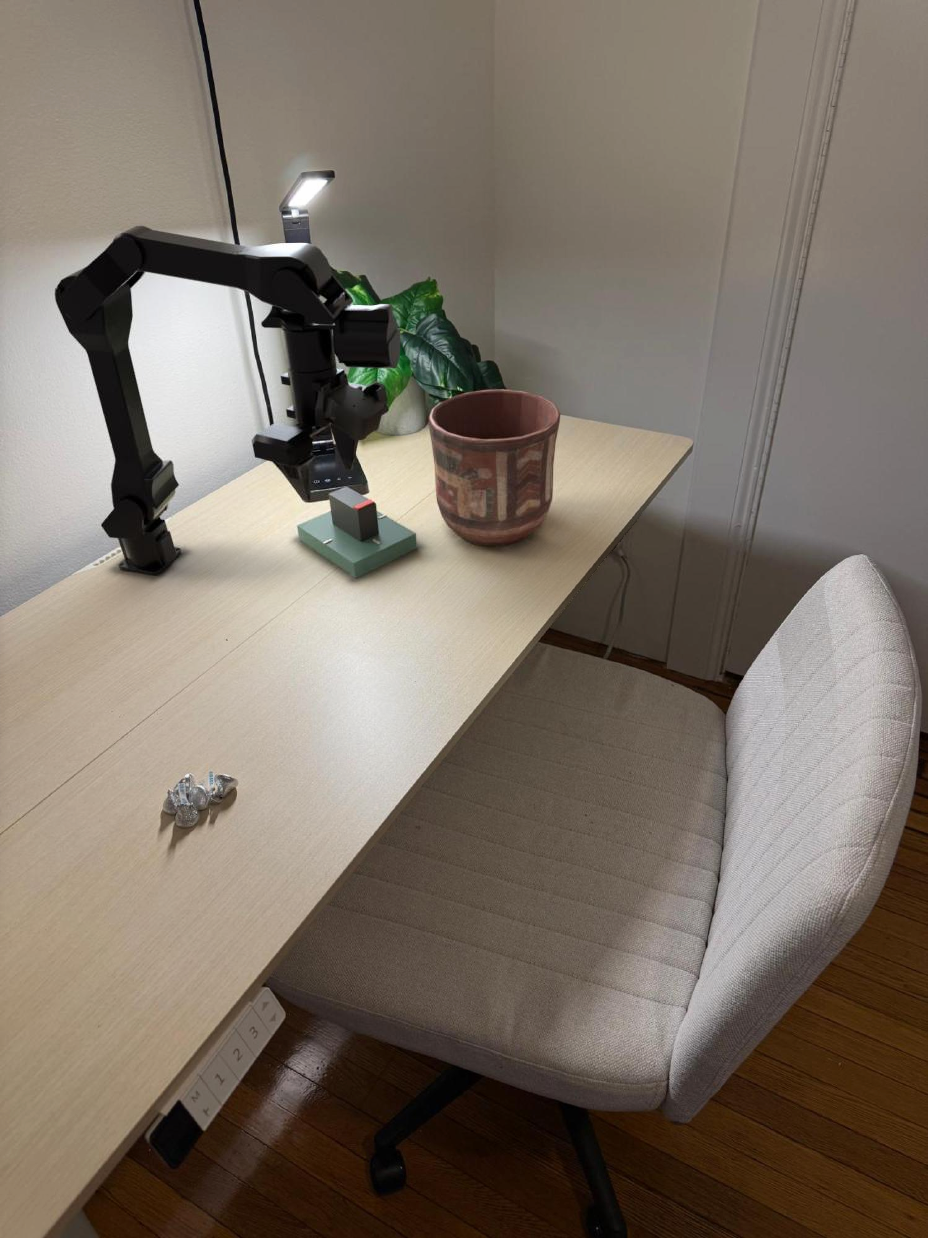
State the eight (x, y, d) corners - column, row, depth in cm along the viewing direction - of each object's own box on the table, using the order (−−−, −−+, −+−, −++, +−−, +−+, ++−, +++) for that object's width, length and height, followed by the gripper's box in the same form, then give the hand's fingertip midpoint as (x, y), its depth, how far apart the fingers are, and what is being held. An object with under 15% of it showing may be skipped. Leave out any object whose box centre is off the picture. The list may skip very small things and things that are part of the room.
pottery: (518, 571, 113) (520, 451, 102) (413, 538, 120) (404, 423, 109) (573, 514, 125) (581, 401, 114) (474, 487, 132) (472, 379, 121)
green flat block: (298, 540, 121) (295, 524, 119) (359, 513, 127) (357, 497, 125) (355, 578, 112) (353, 562, 111) (417, 547, 118) (416, 532, 117)
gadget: (332, 524, 119) (328, 492, 116) (350, 516, 121) (346, 484, 118) (361, 542, 115) (357, 509, 112) (379, 533, 117) (376, 501, 114)
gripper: (319, 405, 86) (337, 532, 95) (412, 348, 99) (419, 466, 108) (237, 387, 90) (262, 511, 100) (336, 336, 103) (349, 450, 112)
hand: (327, 483), depth 105 cm, fingers open, 9 cm apart
